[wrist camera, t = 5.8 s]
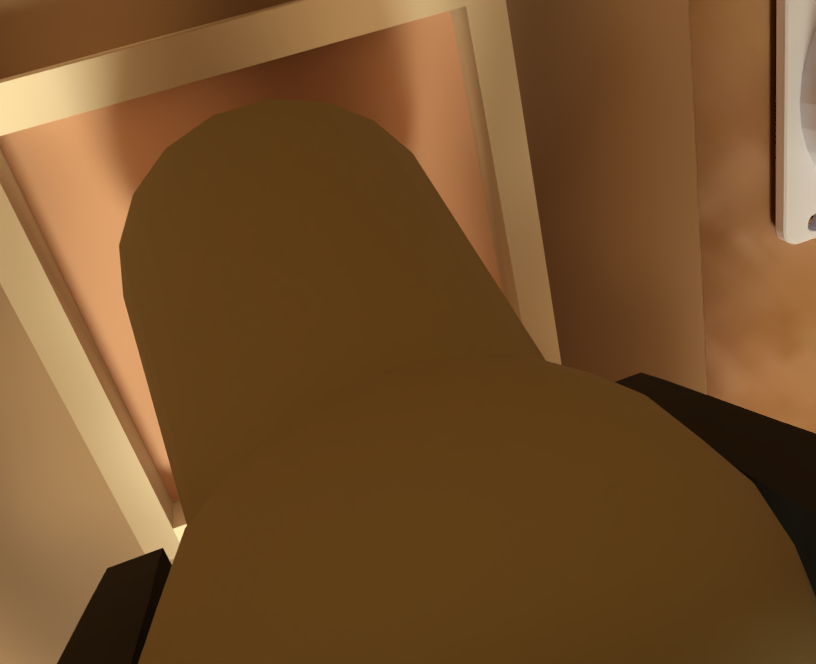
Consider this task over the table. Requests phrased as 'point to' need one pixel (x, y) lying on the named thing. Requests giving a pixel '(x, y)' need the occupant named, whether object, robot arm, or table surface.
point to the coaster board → (364, 95)
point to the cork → (410, 436)
